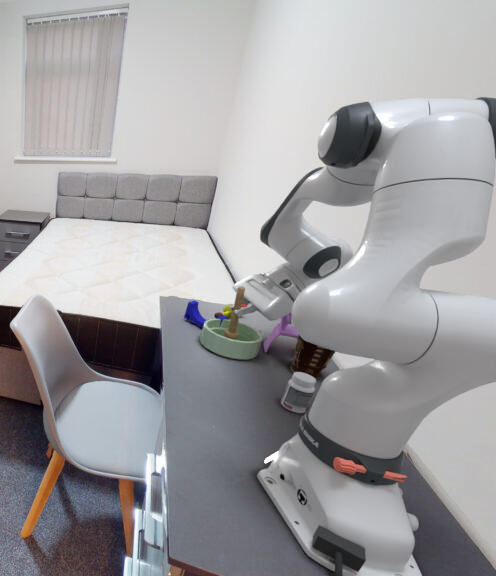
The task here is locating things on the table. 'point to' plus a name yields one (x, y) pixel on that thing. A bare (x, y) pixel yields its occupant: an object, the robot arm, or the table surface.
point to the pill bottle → (298, 392)
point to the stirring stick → (232, 332)
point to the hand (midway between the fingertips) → (233, 312)
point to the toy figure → (227, 311)
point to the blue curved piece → (197, 314)
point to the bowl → (227, 347)
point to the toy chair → (281, 331)
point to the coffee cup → (310, 358)
